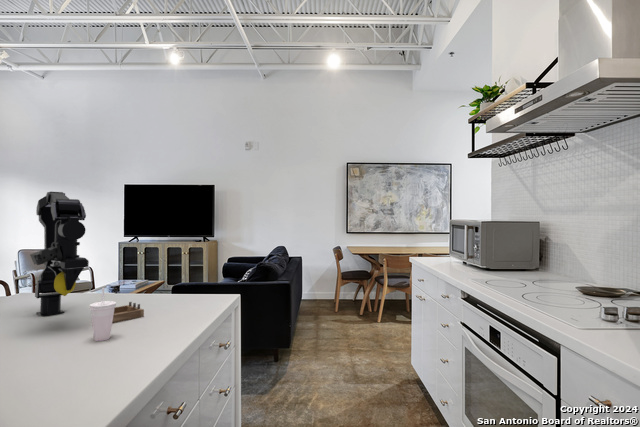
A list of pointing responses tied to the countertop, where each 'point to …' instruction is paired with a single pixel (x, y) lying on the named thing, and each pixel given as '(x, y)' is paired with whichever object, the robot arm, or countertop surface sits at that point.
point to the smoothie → (102, 318)
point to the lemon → (61, 285)
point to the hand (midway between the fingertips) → (64, 289)
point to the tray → (127, 312)
